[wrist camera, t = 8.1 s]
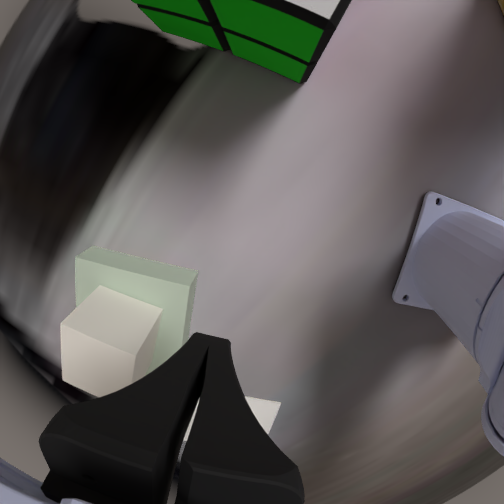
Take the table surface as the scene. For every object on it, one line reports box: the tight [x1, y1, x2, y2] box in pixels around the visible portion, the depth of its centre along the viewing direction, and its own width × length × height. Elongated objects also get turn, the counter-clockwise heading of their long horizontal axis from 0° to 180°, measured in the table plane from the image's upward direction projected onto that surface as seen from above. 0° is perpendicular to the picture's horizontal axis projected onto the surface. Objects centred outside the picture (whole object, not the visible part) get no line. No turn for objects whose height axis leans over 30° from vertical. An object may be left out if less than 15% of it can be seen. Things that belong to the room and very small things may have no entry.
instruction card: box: [183, 396, 281, 441], centre depth 26 cm, size 10×8×1 cm
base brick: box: [75, 246, 198, 375], centre depth 22 cm, size 8×8×3 cm
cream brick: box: [61, 285, 163, 397], centre depth 18 cm, size 4×4×5 cm
